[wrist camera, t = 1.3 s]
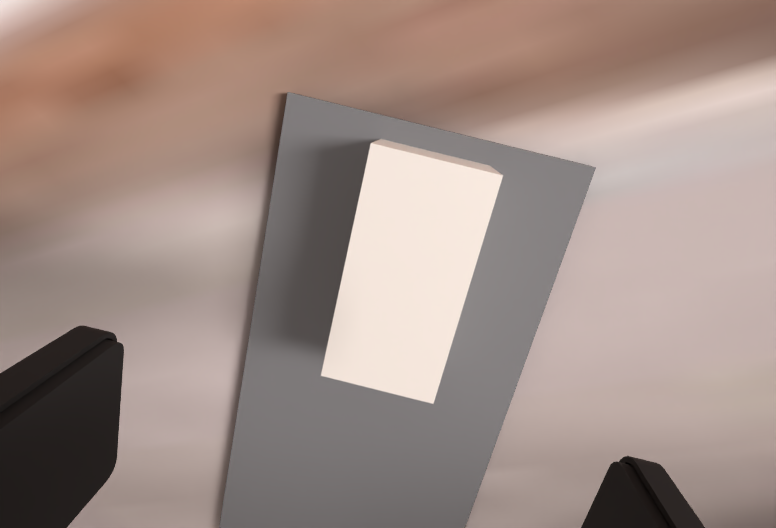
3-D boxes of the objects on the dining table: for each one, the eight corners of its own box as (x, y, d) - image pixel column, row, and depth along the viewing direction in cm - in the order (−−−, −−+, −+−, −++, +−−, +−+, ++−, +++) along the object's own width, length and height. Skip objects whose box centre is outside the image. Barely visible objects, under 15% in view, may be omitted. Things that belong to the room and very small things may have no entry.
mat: (591, 166, 21) (595, 167, 21) (441, 582, 29) (441, 591, 29) (291, 92, 22) (287, 91, 21) (222, 526, 29) (218, 534, 29)
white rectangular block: (489, 165, 21) (503, 175, 17) (432, 359, 24) (433, 403, 20) (381, 139, 21) (370, 142, 17) (337, 335, 24) (320, 375, 20)
